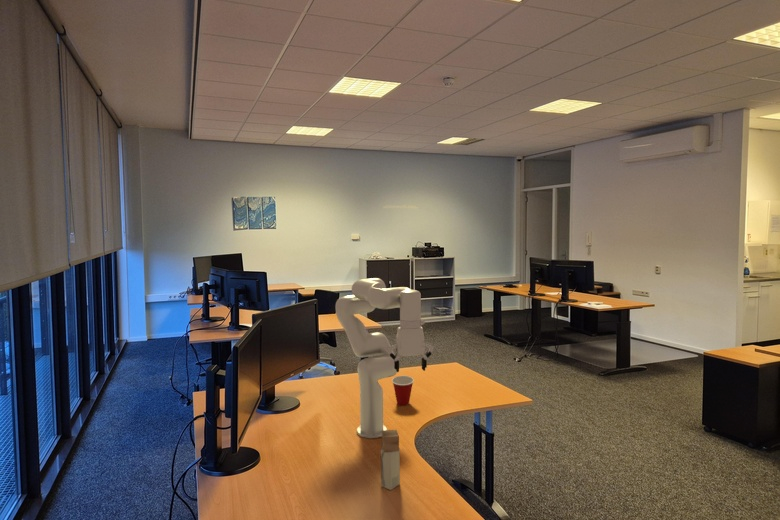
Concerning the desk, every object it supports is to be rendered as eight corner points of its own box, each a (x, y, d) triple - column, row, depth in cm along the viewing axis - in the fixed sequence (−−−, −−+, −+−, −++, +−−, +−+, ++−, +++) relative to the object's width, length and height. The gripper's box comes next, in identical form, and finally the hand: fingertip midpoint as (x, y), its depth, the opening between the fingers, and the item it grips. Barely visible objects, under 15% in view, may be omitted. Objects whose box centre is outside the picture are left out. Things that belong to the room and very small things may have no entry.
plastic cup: (389, 406, 224) (389, 382, 224) (394, 398, 235) (394, 374, 234) (411, 408, 222) (411, 383, 221) (416, 400, 232) (416, 376, 231)
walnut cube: (381, 445, 158) (381, 430, 158) (396, 444, 159) (396, 429, 159) (383, 452, 153) (383, 437, 153) (399, 451, 154) (398, 436, 154)
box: (390, 479, 161) (390, 443, 160) (400, 484, 158) (400, 447, 157) (380, 486, 156) (379, 449, 155) (390, 491, 154) (390, 453, 153)
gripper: (431, 321, 176) (431, 366, 178) (385, 322, 174) (385, 368, 175) (436, 325, 169) (436, 372, 170) (388, 327, 166) (388, 374, 168)
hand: (410, 370), depth 173 cm, fingers open, 9 cm apart
